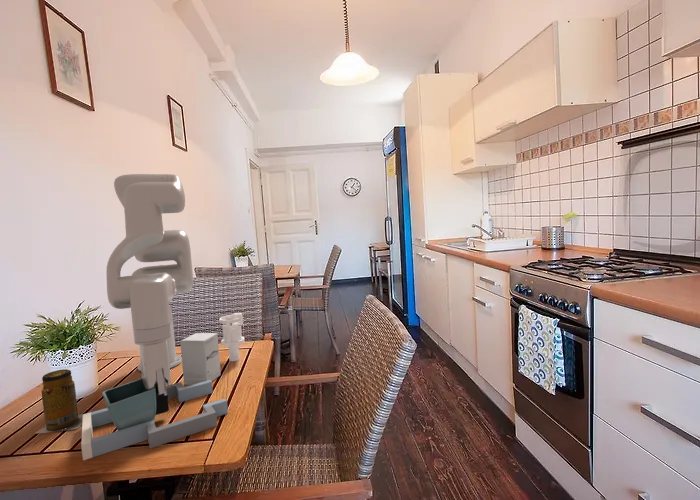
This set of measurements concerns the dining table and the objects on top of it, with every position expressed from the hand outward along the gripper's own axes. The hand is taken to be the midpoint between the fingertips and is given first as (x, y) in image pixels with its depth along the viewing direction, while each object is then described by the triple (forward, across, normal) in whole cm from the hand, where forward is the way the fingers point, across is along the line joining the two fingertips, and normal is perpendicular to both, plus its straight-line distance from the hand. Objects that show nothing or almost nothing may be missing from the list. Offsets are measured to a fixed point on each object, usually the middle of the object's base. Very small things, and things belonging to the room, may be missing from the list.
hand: (160, 411), depth 87 cm
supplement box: (+2, -16, +13) cm, 21 cm away
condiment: (+2, -13, -18) cm, 22 cm away
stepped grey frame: (+2, 0, -1) cm, 2 cm away
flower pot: (+2, +1, -5) cm, 6 cm away
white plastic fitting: (+2, -26, +25) cm, 36 cm away
